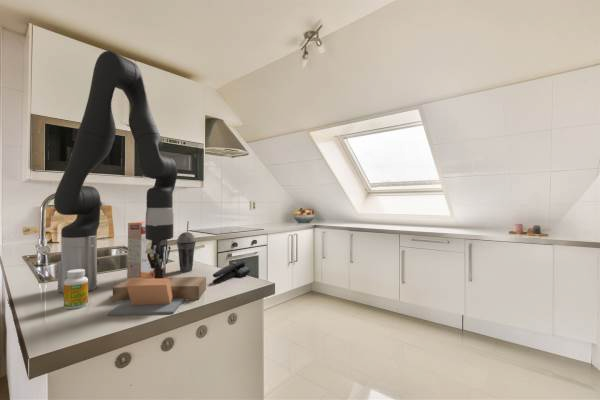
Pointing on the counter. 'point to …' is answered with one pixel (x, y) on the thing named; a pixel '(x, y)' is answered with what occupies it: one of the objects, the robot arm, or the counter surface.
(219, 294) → the counter surface
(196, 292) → the panel
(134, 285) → the terracotta tile
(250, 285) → the counter surface
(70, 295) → the supplement bottle
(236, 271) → the can opener
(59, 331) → the counter surface
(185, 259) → the beverage cup
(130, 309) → the slate mat
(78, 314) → the counter surface
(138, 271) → the cracker box
